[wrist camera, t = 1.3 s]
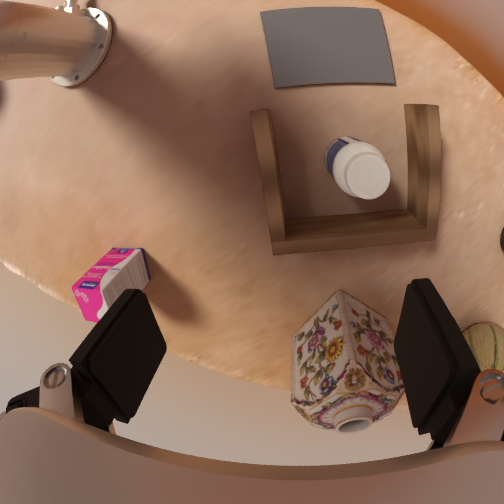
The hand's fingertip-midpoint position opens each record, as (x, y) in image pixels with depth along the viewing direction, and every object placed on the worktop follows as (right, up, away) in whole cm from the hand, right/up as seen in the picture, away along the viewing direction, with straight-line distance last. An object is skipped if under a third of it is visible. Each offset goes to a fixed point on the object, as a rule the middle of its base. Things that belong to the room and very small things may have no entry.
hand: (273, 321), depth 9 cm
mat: (+8, +25, +14) cm, 30 cm away
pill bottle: (+10, +13, +20) cm, 26 cm away
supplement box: (-19, +1, +31) cm, 37 cm away
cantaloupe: (+42, -14, +31) cm, 54 cm away
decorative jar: (+13, -10, +33) cm, 36 cm away
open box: (+10, +12, +21) cm, 26 cm away
